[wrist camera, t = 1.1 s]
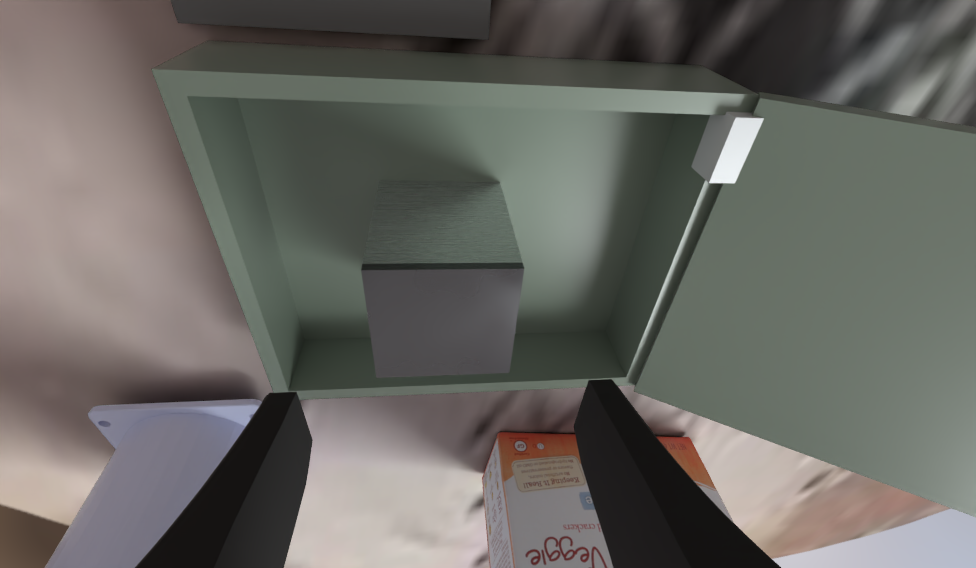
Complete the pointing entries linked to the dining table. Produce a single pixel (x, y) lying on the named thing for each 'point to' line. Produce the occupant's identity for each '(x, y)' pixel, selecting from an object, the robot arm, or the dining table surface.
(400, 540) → the dining table surface
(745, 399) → the case
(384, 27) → the pad
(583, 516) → the cracker box
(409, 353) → the block
